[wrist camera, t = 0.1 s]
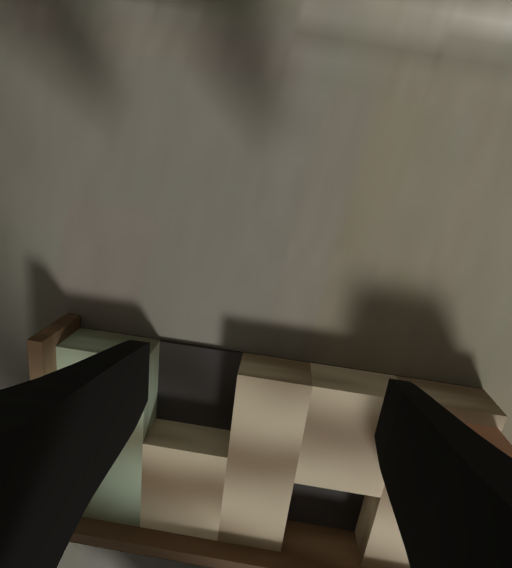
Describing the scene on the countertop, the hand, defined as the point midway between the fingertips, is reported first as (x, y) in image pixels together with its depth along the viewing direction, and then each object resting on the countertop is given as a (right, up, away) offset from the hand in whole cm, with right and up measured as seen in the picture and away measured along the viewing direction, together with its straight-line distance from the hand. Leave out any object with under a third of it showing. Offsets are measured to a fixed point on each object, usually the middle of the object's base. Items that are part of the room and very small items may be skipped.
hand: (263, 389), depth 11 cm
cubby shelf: (0, -7, +13) cm, 14 cm away
